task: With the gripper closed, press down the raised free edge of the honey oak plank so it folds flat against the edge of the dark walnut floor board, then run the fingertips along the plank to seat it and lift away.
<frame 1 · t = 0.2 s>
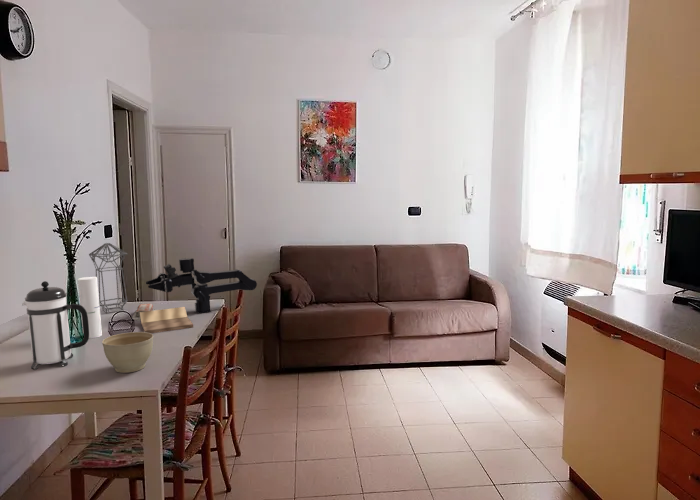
hand: (147, 284, 242), 17 cm above the table, tool horizontal, fingers open, 9 cm apart
planter bowl: (130, 369, 177), on the table
oak plank: (163, 315, 238), point 3 cm above the table, hinge at 30.0°
packaged product: (144, 316, 251), on the table
cylindrical container: (92, 336, 218), on the table
coffee press: (57, 363, 185), on the table
geometric lantern: (113, 311, 263), on the table
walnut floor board: (167, 326, 229), on the table
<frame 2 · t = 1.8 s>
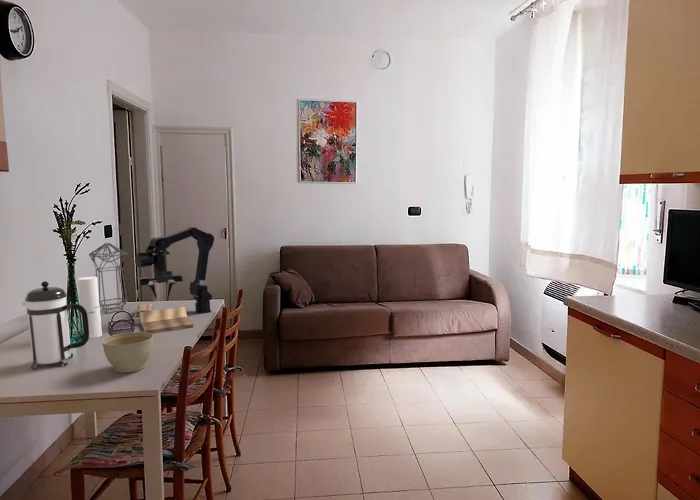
hand: (162, 297, 239), 11 cm above the table, tool pointing down, fingers open, 5 cm apart
nothing on the table moved.
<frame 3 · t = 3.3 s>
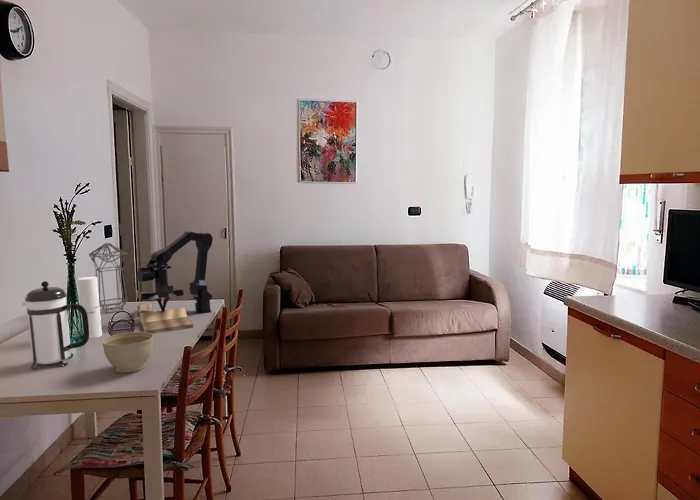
hand: (163, 311, 240), 4 cm above the table, tool pointing down, fingers closed, pressing on oak plank
oak plank: (163, 316, 238), point 2 cm above the table, hinge at 25.6°, touching gripper
everything else where it was.
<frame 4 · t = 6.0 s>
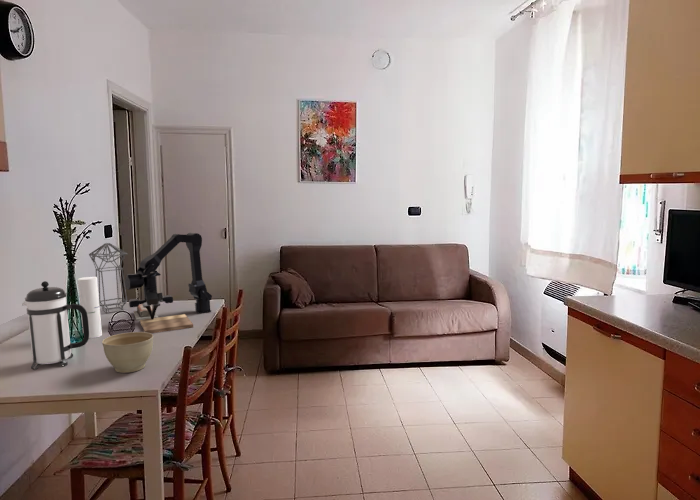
hand: (152, 319, 238), 1 cm above the table, tool pointing down, fingers closed
oak plank: (164, 320, 239), point 1 cm above the table, hinge at -1.8°
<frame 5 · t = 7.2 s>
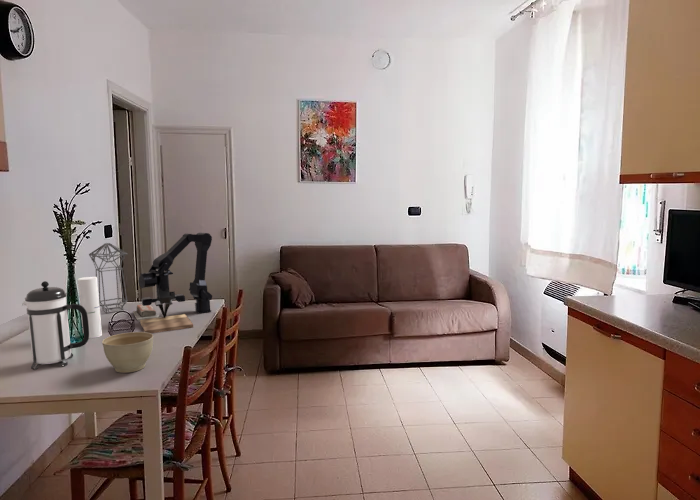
hand: (164, 317, 240), 1 cm above the table, tool pointing down, fingers closed
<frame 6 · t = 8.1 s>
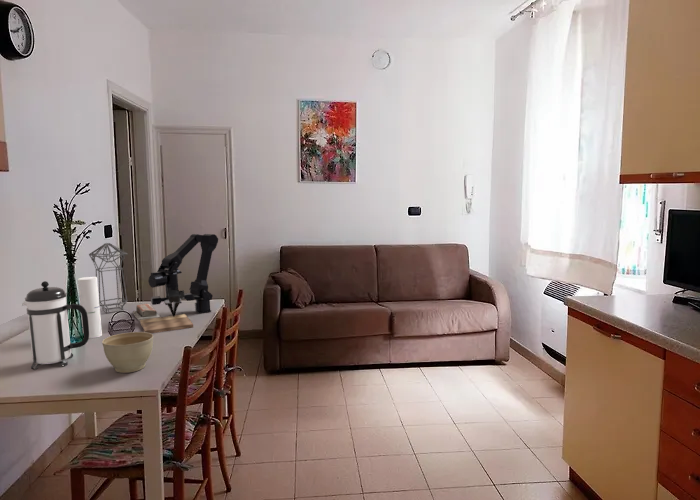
hand: (173, 316, 242), 1 cm above the table, tool pointing down, fingers closed
oak plank: (164, 320, 239), point 1 cm above the table, hinge at -1.8°, touching gripper
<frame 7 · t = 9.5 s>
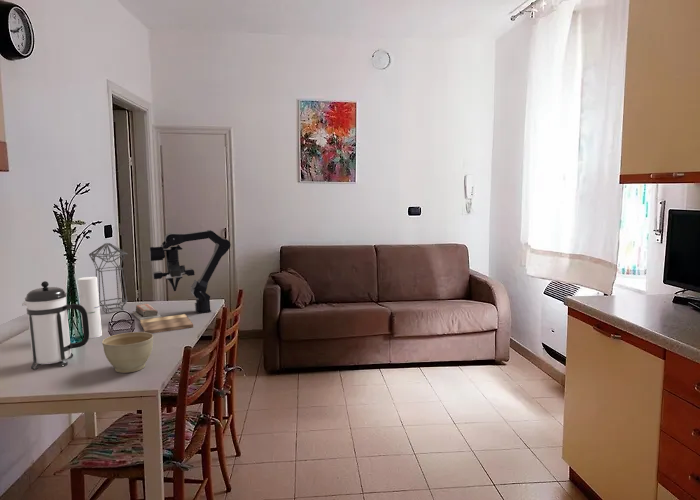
hand: (174, 291, 249), 12 cm above the table, tool pointing down, fingers closed
oak plank: (164, 320, 239), point 1 cm above the table, hinge at -1.8°
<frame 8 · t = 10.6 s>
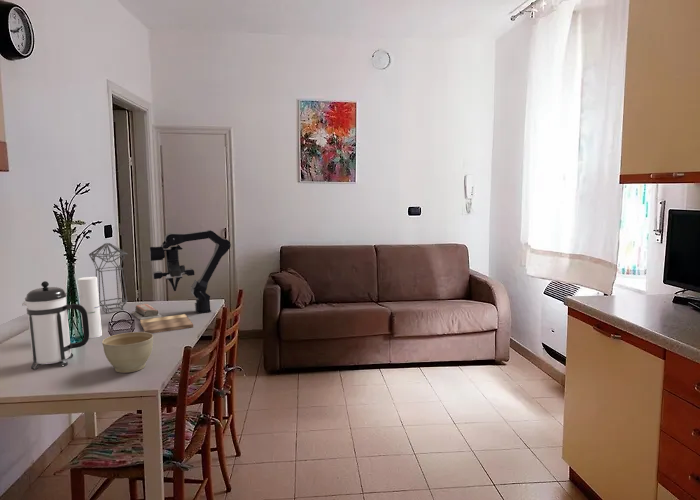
hand: (174, 291, 249), 12 cm above the table, tool pointing down, fingers closed
at the end: oak plank at -2° (first picture: +30°); the gripper is holding nothing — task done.
